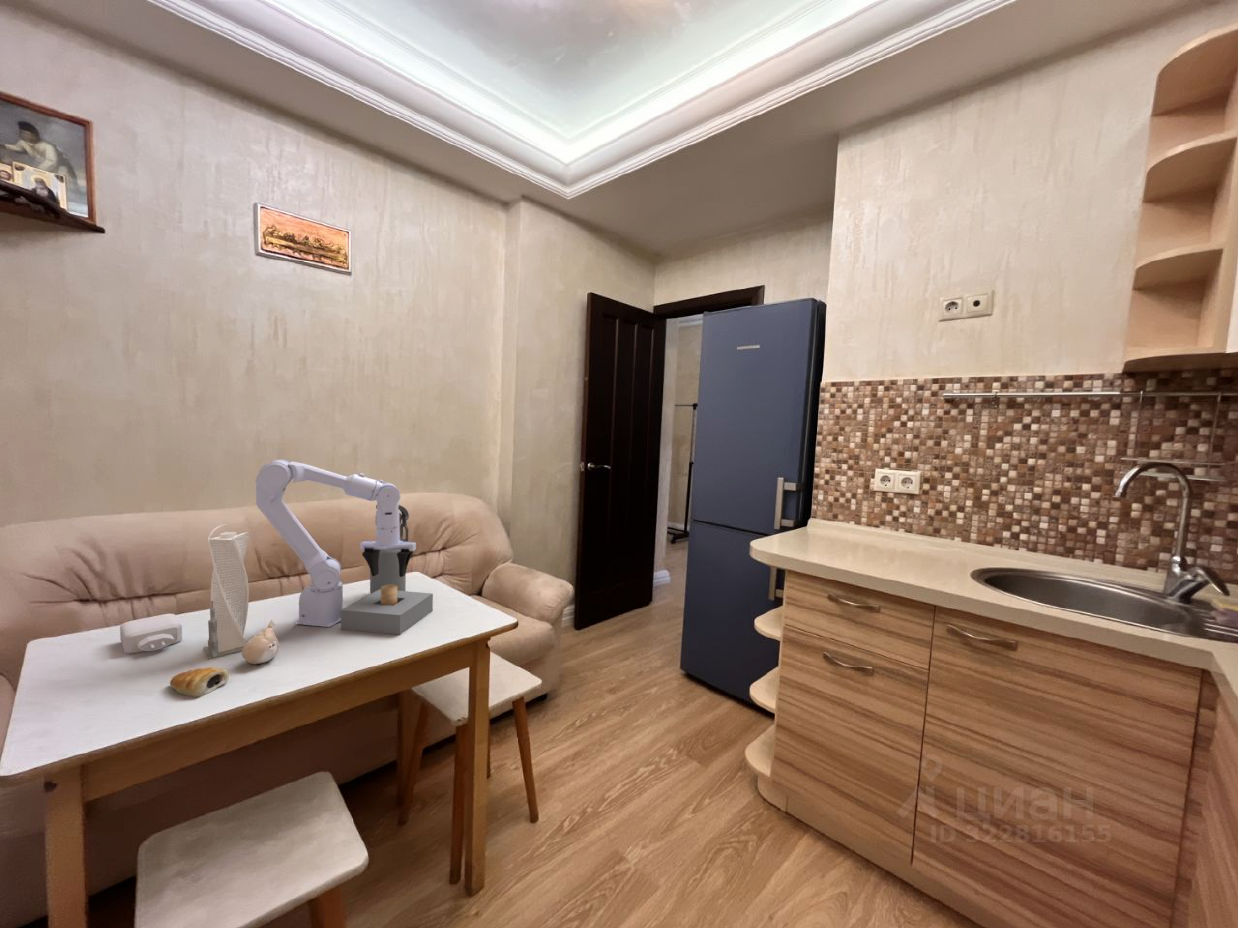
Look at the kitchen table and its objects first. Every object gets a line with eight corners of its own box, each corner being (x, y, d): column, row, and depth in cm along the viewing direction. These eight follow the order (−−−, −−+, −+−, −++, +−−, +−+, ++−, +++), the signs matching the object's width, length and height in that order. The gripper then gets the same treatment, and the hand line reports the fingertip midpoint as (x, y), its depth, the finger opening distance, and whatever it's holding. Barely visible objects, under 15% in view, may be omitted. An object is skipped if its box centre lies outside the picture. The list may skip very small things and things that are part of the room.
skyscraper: (201, 647, 107) (199, 525, 105) (246, 636, 113) (245, 521, 111) (208, 660, 101) (206, 532, 100) (255, 648, 108) (253, 527, 106)
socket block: (340, 628, 119) (340, 609, 119) (379, 606, 135) (379, 589, 135) (400, 634, 117) (400, 615, 117) (432, 610, 133) (432, 593, 133)
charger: (128, 665, 98) (120, 643, 108) (187, 650, 106) (175, 630, 115) (127, 643, 98) (119, 622, 107) (187, 630, 105) (174, 611, 115)
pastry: (157, 693, 89) (157, 673, 89) (195, 675, 96) (195, 657, 95) (199, 700, 87) (198, 680, 87) (234, 681, 94) (234, 663, 94)
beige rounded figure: (284, 660, 103) (284, 624, 102) (249, 671, 97) (248, 634, 97) (272, 651, 106) (271, 616, 106) (237, 662, 101) (236, 625, 101)
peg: (377, 621, 124) (377, 588, 124) (386, 615, 128) (386, 583, 128) (391, 623, 124) (391, 589, 123) (400, 617, 128) (400, 584, 127)
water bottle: (401, 587, 151) (402, 501, 149) (411, 596, 144) (412, 505, 142) (366, 593, 145) (367, 503, 143) (374, 602, 137) (375, 508, 135)
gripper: (353, 529, 125) (354, 579, 127) (407, 530, 125) (408, 580, 126) (367, 524, 133) (368, 571, 134) (419, 525, 132) (419, 572, 133)
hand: (388, 575), depth 130 cm, fingers open, 7 cm apart
